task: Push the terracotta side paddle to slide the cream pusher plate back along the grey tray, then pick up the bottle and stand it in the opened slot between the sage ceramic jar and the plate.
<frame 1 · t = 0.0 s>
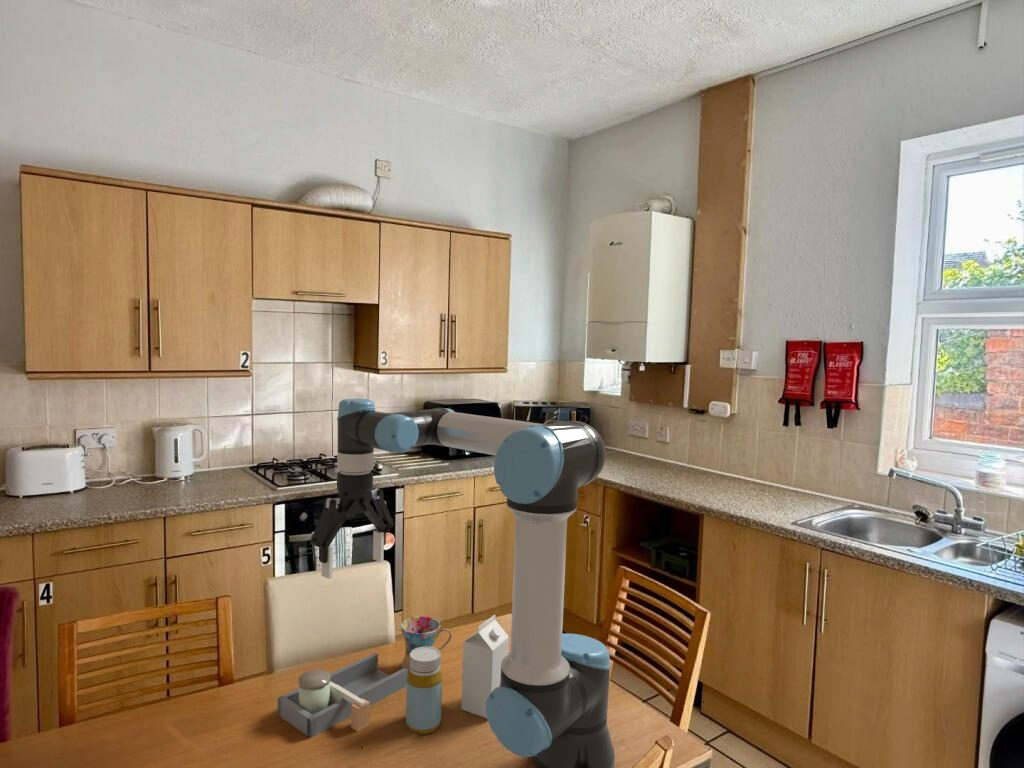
hand: (353, 568, 138), 28 cm above the table, fingers open, 13 cm apart
grey tray: (345, 703, 136), on the table
pusher: (340, 701, 131), point 3 cm above the table, slide at 0.0 cm
mug: (425, 668, 152), on the table
jar: (314, 715, 130), point 1 cm above the table, touching grey tray
milk carton: (483, 707, 137), on the table
bottle: (423, 726, 130), on the table
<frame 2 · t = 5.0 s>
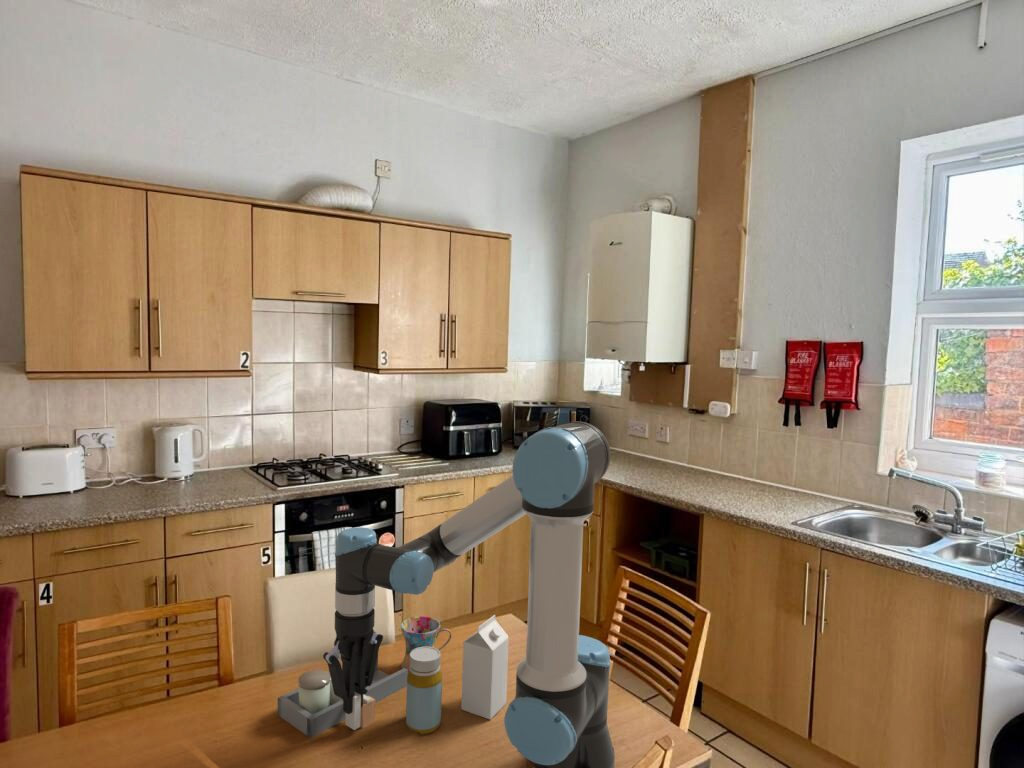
hand: (352, 725, 126), 2 cm above the table, fingers closed
pusher: (345, 698, 132), point 3 cm above the table, slide at 1.4 cm, touching gripper
everything else where it was.
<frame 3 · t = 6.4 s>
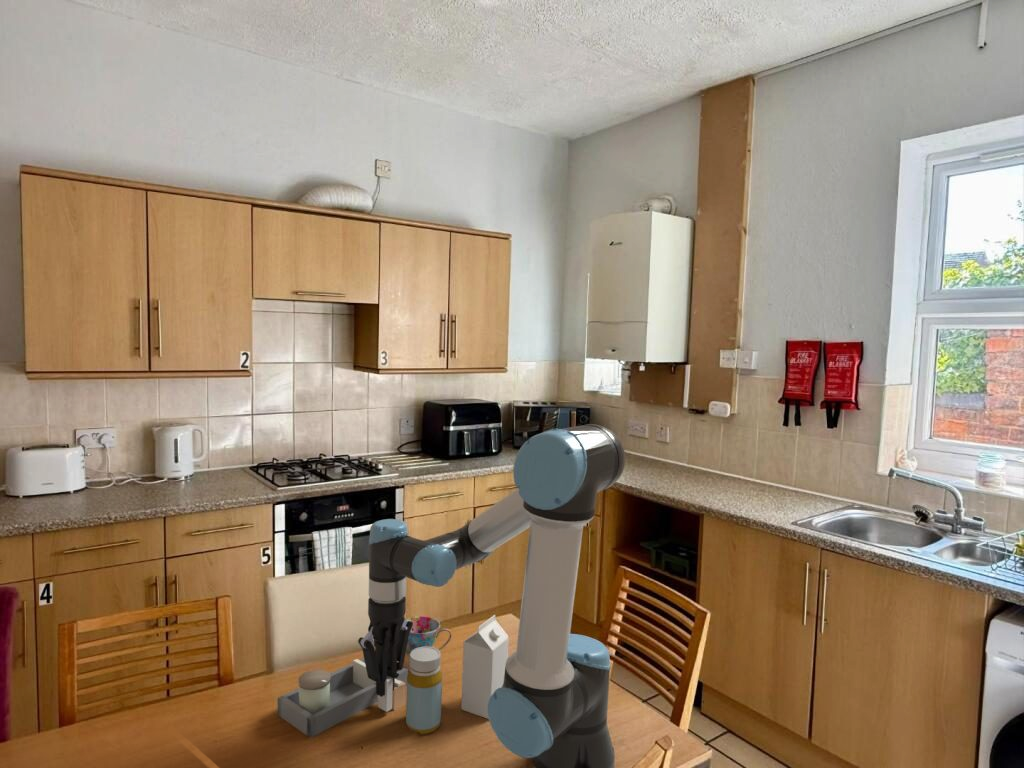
hand: (384, 707, 132), 2 cm above the table, fingers closed
pusher: (376, 682, 138), point 3 cm above the table, slide at 9.5 cm, touching gripper
everything else where it was.
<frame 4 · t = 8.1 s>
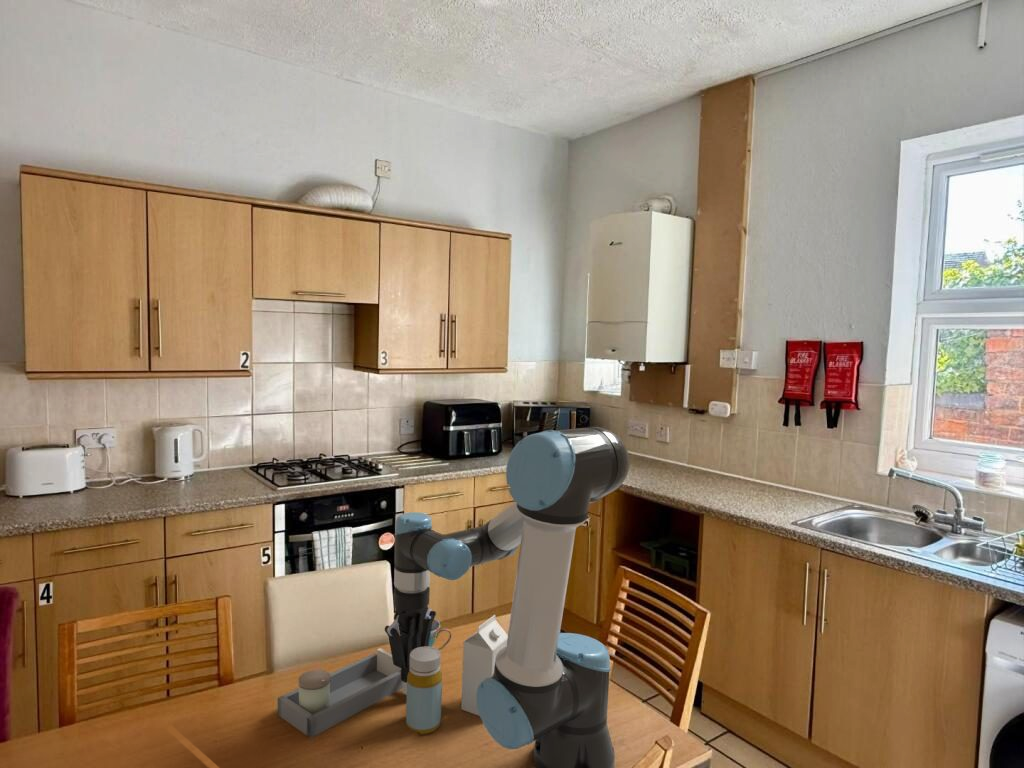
hand: (409, 693, 137), 2 cm above the table, fingers closed
pusher: (400, 670, 144), point 3 cm above the table, slide at 16.3 cm, touching gripper
everything else where it was.
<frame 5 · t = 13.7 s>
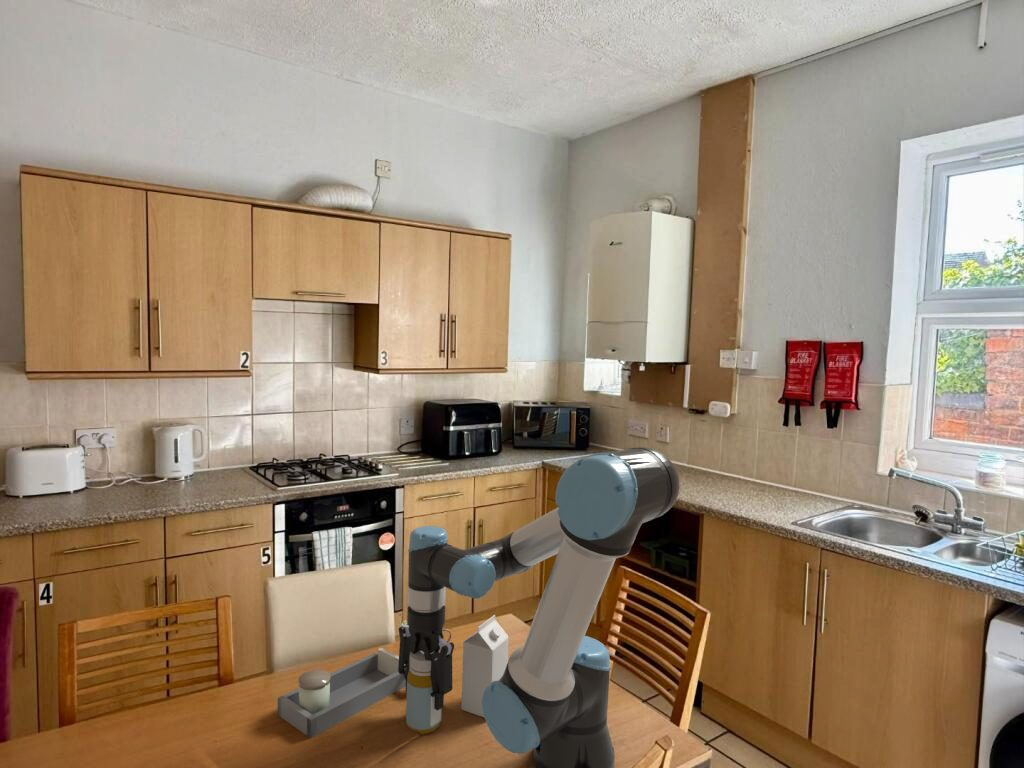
hand: (423, 716, 129), 2 cm above the table, fingers closed on bottle, 6 cm apart
pusher: (401, 670, 144), point 3 cm above the table, slide at 16.5 cm
bottle: (423, 726, 130), on the table, touching gripper
everything else where it was.
when the fingers open (5 cm above the table, at t = 18.6 s): bottle stays where it is, point 2 cm above the table.
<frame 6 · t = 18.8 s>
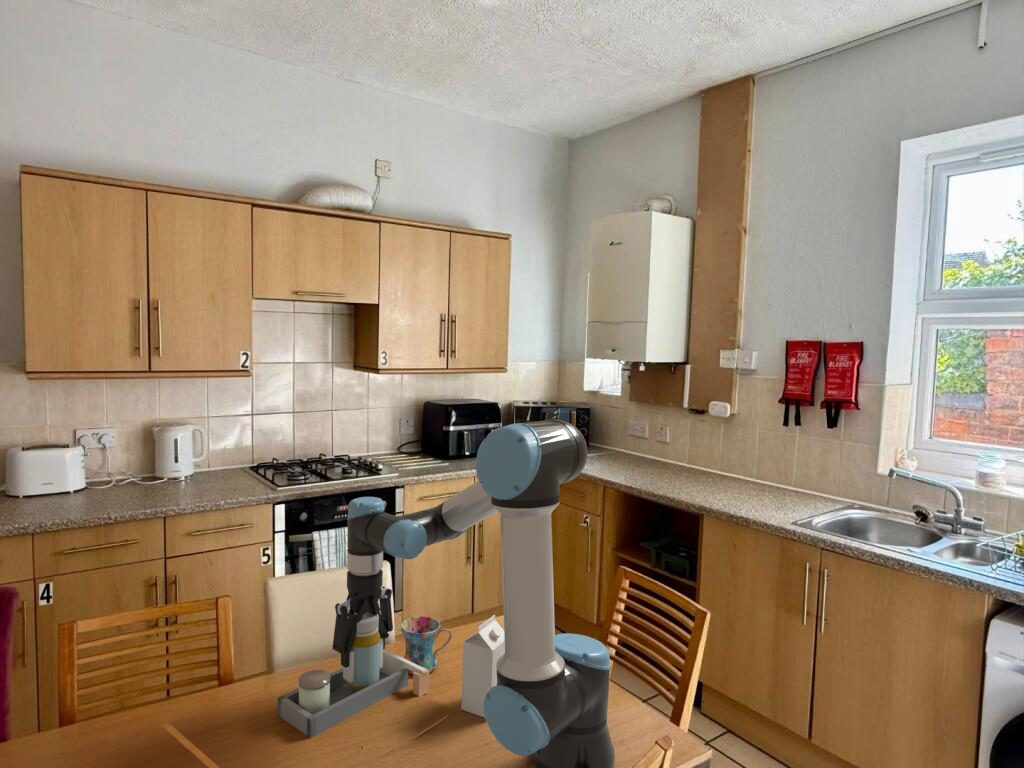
hand: (363, 672, 139), 5 cm above the table, fingers open, 7 cm apart
bottle: (362, 684, 140), point 2 cm above the table, touching gripper
everything else where it was.
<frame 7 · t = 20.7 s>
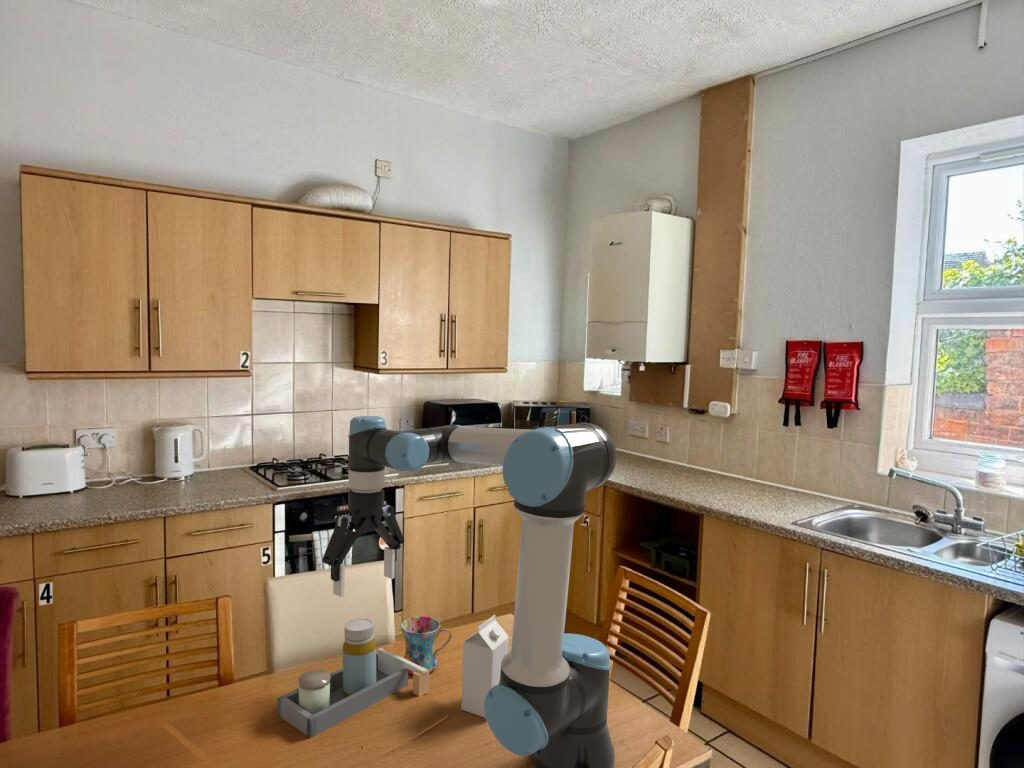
hand: (364, 585, 138), 24 cm above the table, fingers open, 13 cm apart
bottle: (359, 692, 139), point 1 cm above the table, touching grey tray
everything else where it was.
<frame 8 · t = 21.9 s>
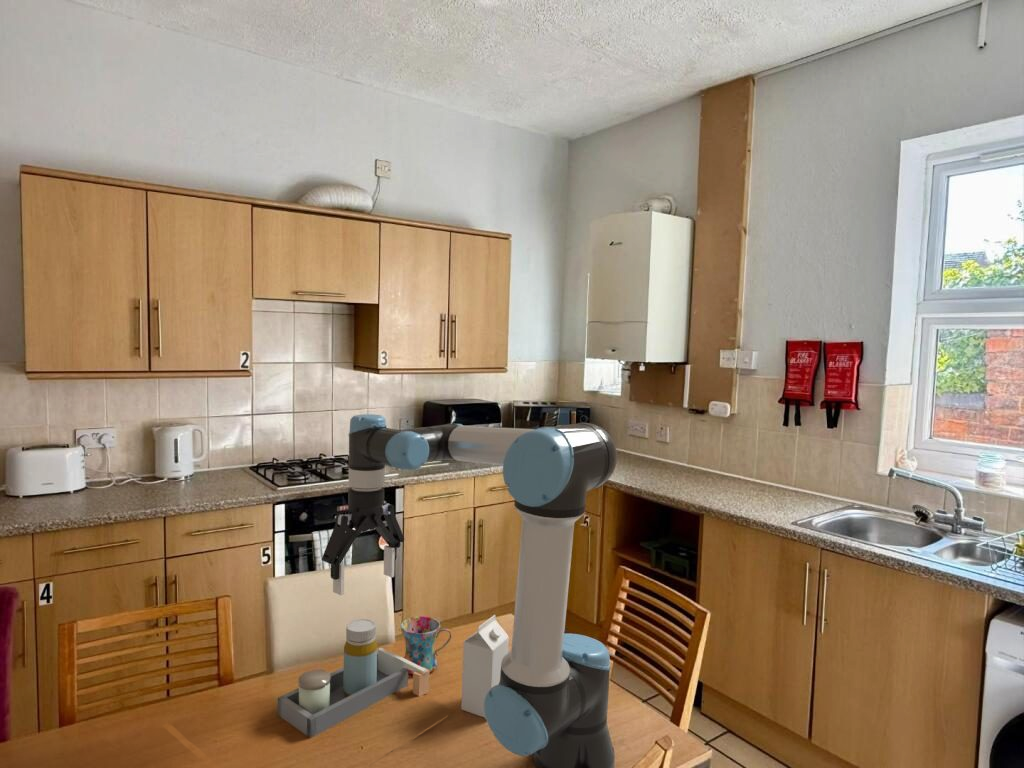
hand: (364, 584, 138), 25 cm above the table, fingers open, 13 cm apart
nothing on the table moved.
at the end: bottle inside the target area on the grey tray (0.2 cm from its centre), point 0.6 cm above the grey tray's base; bottle tilted 1°; pusher slide at 16.5 cm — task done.
